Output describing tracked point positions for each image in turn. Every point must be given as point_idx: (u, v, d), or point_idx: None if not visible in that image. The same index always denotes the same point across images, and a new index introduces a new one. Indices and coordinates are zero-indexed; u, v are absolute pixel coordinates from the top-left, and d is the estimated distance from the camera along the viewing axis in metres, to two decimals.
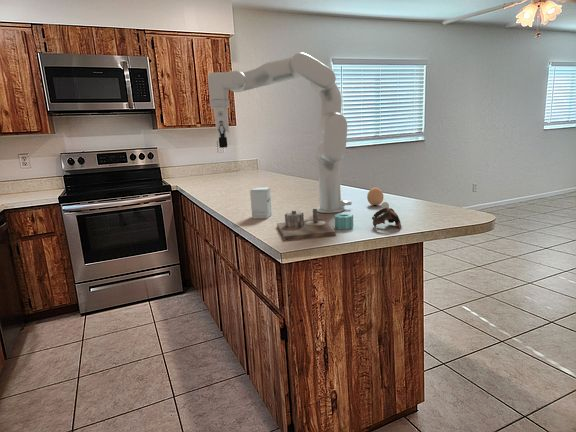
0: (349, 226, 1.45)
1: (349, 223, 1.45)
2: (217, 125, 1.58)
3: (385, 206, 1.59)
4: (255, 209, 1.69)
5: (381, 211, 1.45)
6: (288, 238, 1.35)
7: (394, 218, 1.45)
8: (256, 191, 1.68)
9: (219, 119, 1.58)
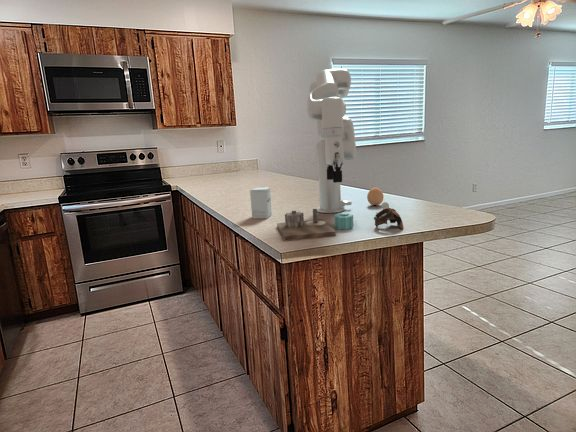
0: (349, 226, 1.45)
1: (349, 223, 1.45)
2: (332, 157, 1.38)
3: (385, 206, 1.58)
4: (255, 209, 1.69)
5: (383, 211, 1.44)
6: (288, 238, 1.35)
7: (396, 218, 1.44)
8: (256, 191, 1.68)
9: (335, 150, 1.38)
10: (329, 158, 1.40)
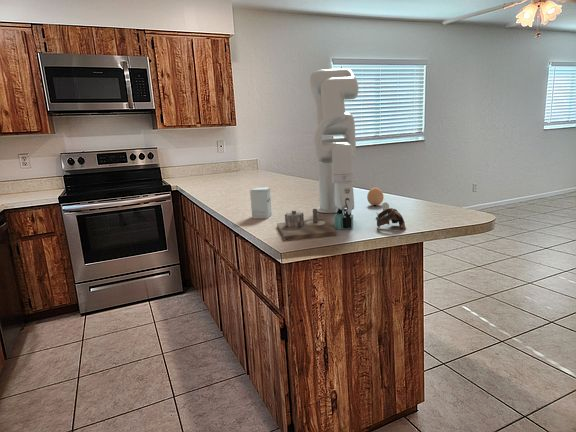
0: None
1: None
2: (342, 203, 1.40)
3: (385, 206, 1.58)
4: (255, 209, 1.69)
5: (385, 212, 1.44)
6: (288, 238, 1.35)
7: (398, 219, 1.44)
8: (256, 191, 1.68)
9: (345, 197, 1.40)
10: (339, 203, 1.42)
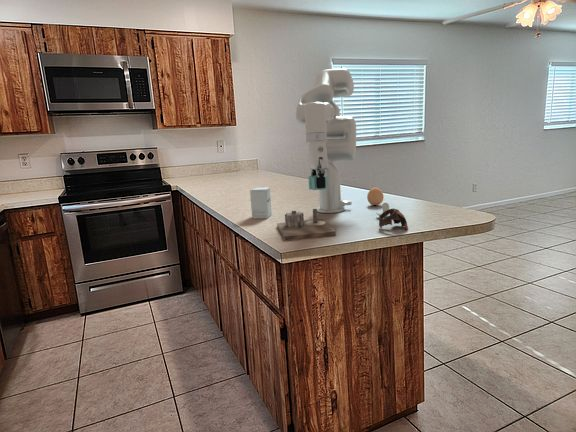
0: None
1: None
2: (316, 162, 1.39)
3: (385, 207, 1.57)
4: (255, 209, 1.69)
5: (387, 212, 1.43)
6: (288, 238, 1.35)
7: (400, 219, 1.43)
8: (256, 191, 1.68)
9: (319, 156, 1.39)
10: (313, 163, 1.41)
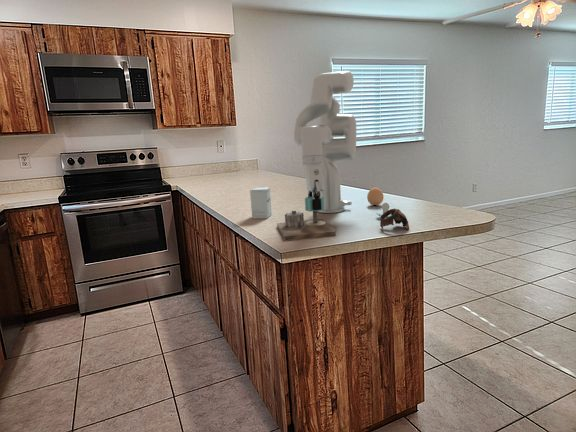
0: None
1: None
2: (312, 184, 1.41)
3: (385, 207, 1.57)
4: (255, 209, 1.69)
5: (388, 212, 1.43)
6: (288, 238, 1.35)
7: (401, 219, 1.43)
8: (256, 191, 1.68)
9: (314, 179, 1.41)
10: (309, 185, 1.43)
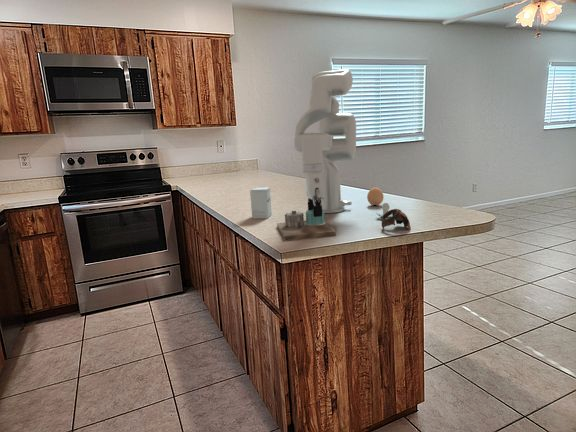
0: (320, 222, 1.47)
1: (320, 219, 1.47)
2: (312, 192, 1.42)
3: (385, 207, 1.57)
4: (255, 209, 1.69)
5: (389, 212, 1.42)
6: (288, 238, 1.35)
7: (402, 219, 1.43)
8: (256, 191, 1.68)
9: (315, 186, 1.42)
10: (309, 193, 1.44)
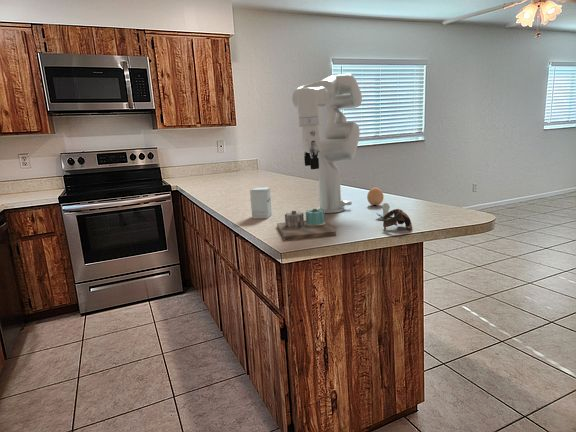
0: (320, 222, 1.47)
1: (320, 219, 1.47)
2: (309, 145, 1.46)
3: (386, 207, 1.56)
4: (255, 209, 1.69)
5: (391, 212, 1.42)
6: (288, 238, 1.35)
7: (404, 219, 1.42)
8: (256, 191, 1.68)
9: (311, 139, 1.45)
10: (306, 146, 1.48)
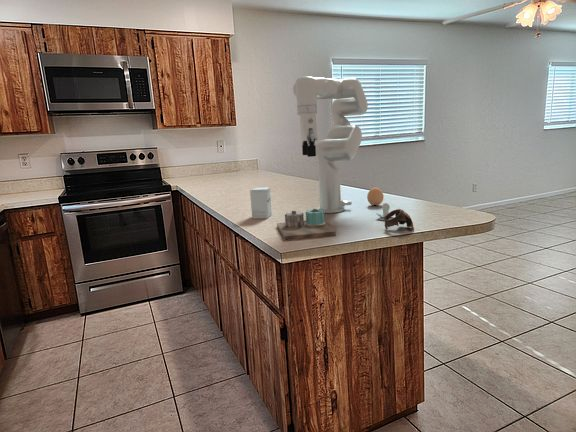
0: (320, 222, 1.47)
1: (320, 219, 1.47)
2: (306, 133, 1.48)
3: (386, 207, 1.56)
4: (255, 209, 1.69)
5: (392, 213, 1.41)
6: (288, 238, 1.35)
7: (405, 220, 1.42)
8: (256, 191, 1.68)
9: (308, 126, 1.48)
10: (303, 134, 1.50)
